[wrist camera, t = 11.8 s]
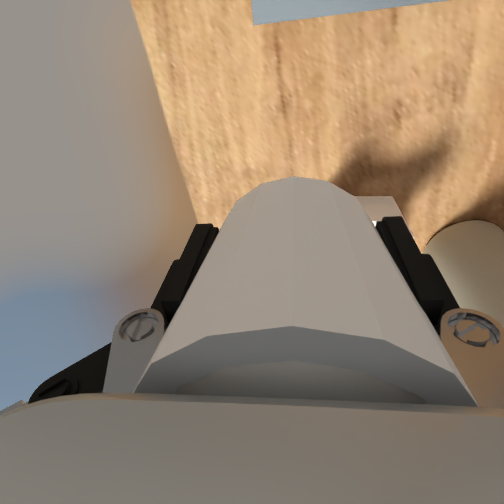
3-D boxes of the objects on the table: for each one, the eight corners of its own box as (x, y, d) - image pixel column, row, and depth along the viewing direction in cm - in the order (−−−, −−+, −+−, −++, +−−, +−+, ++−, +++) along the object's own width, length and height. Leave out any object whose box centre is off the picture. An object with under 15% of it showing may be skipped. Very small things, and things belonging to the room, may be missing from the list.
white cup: (256, 329, 15) (233, 517, 10) (167, 207, 12) (53, 384, 6) (413, 285, 13) (508, 502, 7) (358, 117, 9) (451, 274, 4)
